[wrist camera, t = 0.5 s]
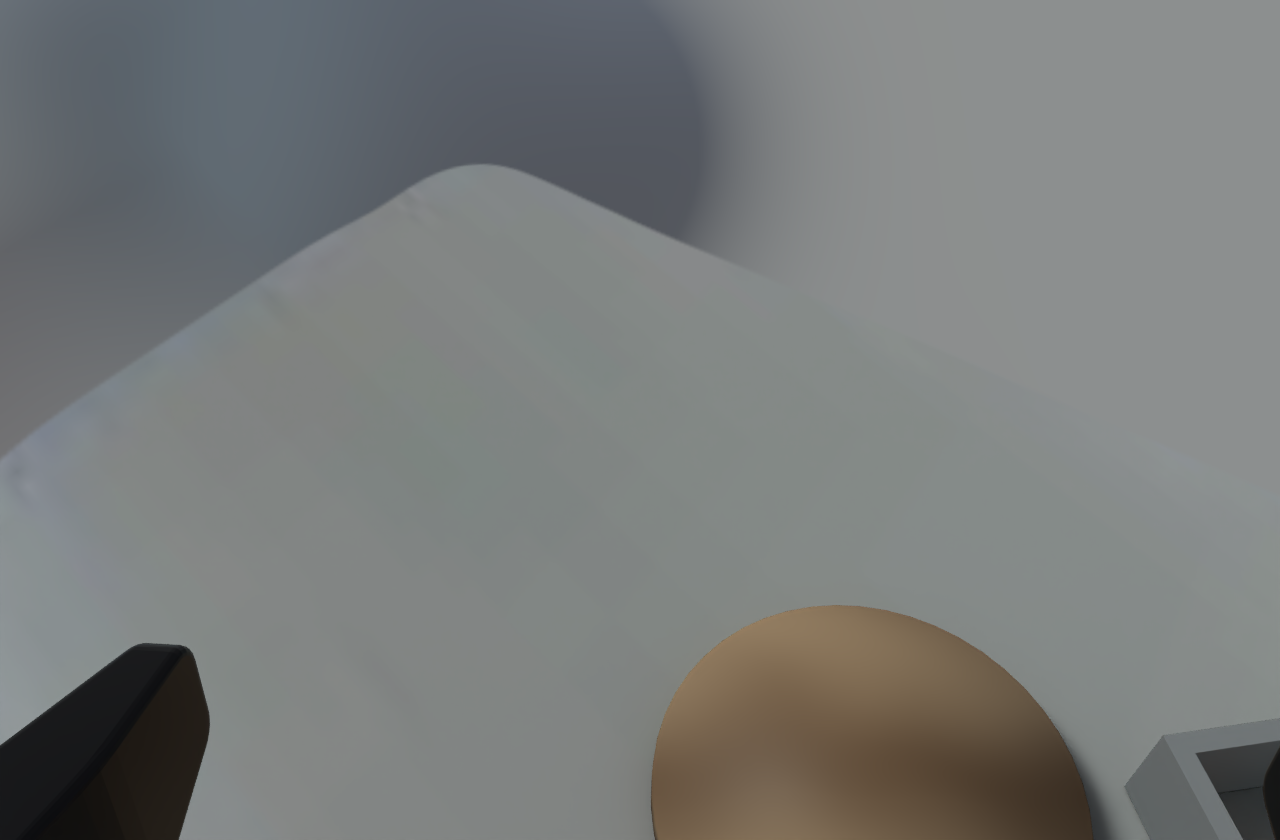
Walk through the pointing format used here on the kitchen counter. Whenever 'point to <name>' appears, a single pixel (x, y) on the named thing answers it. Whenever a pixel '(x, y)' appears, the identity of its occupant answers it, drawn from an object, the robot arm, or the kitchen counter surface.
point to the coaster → (859, 739)
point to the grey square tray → (1200, 779)
